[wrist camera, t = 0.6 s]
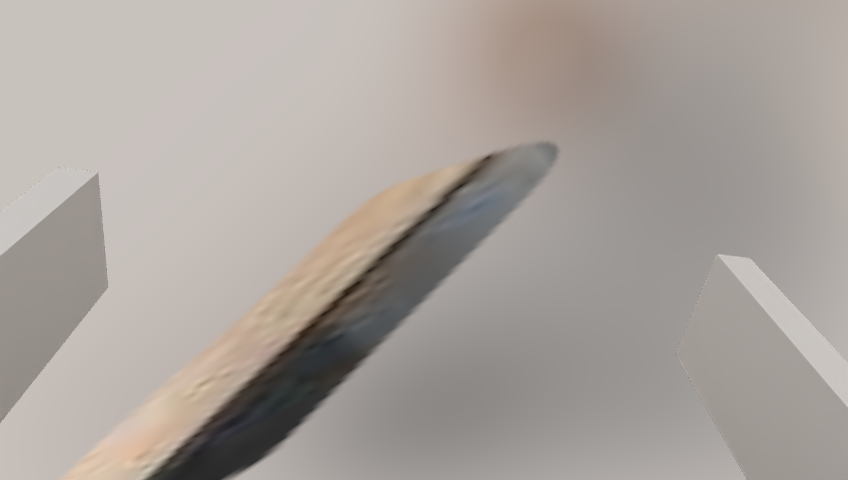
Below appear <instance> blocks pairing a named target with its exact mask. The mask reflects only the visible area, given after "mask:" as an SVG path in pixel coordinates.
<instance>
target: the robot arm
mask: <svg viewBox="0 0 848 480" xmlns="http://www.w3.org/2000/svg"><path fill="white" fill-rule="evenodd" d="M107 288H108V280H107V269H106V257H105V246H104V234H103V223H102V212H101V200H100V188H99V178H98V172H92V171H84V170H77V169H70V168H62V167H58V168H57V169H56V170H54V171H53V172H52V173H50V174H49V175H48V176H46V177H45V178H44V179H42V180H41V181H40V182H38V183H37V184H36V185H34V186H33V187H32V188H30V189H29V190H28V191H26V192H25V193H24V194H22V195H21V196H20V197H18V198H17V199H16V200H14V201H13V202H12V203H10V204H9V205H8V206H6V207H5V208H3V209H2V210H1V211H0V423H1V421H2V420H3V419H4V417H5V416H6V415H7V414H8V412H9V411H10V410H11V409H12V407H13V406H14V405H15V404H16V402H17V401H18V400H19V399H20V397H21V396H22V395H23V394H24V392H25V391H26V390H27V389H28V387H29V386H30V385H31V383H32V382H33V381H34V380H35V379H36V377H37V376H38V375H39V373H40V372H41V371H42V370H43V368H44V367H45V366H46V365H47V363H48V362H49V361H50V360H51V358H52V357H53V356H54V355H55V353H56V352H57V351H58V350H59V348H60V347H61V346H62V344H63V343H64V342H65V341H66V340H67V338H68V337H69V336H70V334H71V333H72V332H73V331H74V329H75V328H76V327H77V326H78V324H79V323H80V322H81V321H82V319H83V318H84V317H85V316H86V314H87V313H88V312H89V311H90V309H91V308H92V307H93V306H94V304H95V303H96V302H97V301H98V299H99V298H100V297H101V296H102V294H103V293H104V292H105V291H106V289H107ZM675 355H676V356H677V358H678V360H679V362H680V363H681V365H682V367H683V369H684V370H685V372H686V374H687V375H688V377H689V379H690V381H691V383H692V384H693V386H694V388H695V389H696V391H697V393H698V395H699V397H700V398H701V400H702V402H703V404H704V405H705V407H706V409H707V411H708V412H709V414H710V416H711V418H712V419H713V421H714V423H715V425H716V426H717V428H718V430H719V431H720V433H721V435H722V437H723V439H724V440H725V442H726V444H727V445H728V447H729V449H730V451H731V452H732V454H733V456H734V458H735V460H736V461H737V463H738V465H739V466H740V468H741V470H742V472H743V473H744V475H745V477H746V479H747V480H848V363H847V362H846V361H845V359H844V358H843V357H842V356H841V355H840V354H839V353H838V352H837V351H836V350H835V349H834V348H833V347H832V346H831V344H830V343H829V342H828V341H827V340H826V339H825V338H824V337H823V336H822V335H821V334H820V333H819V332H818V331H817V329H815V327H813V325H812V324H811V323H810V322H809V321H808V320H807V319H806V318H805V317H804V316H803V315H802V313H801V312H800V311H799V310H798V309H797V308H796V307H795V306H794V305H793V304H792V303H791V302H790V301H789V300H788V298H786V296H785V295H784V294H783V293H782V292H781V291H780V290H779V289H778V288H777V287H776V286H775V285H774V283H773V282H771V280H770V279H769V278H768V277H767V276H766V275H765V274H764V273H763V272H762V271H761V270H760V269H759V268H758V267H757V265H756V264H755V263H754V262H753V261H752V260H751V259H750V258H744V257H735V256H728V255H721V254H717V255H716V257H715V259H714V262H713V264H712V267H711V269H710V271H709V274H708V276H707V279H706V281H705V284H704V286H703V288H702V291H701V293H700V296H699V298H698V301H697V303H696V306H695V308H694V310H693V313H692V315H691V318H690V320H689V323H688V325H687V327H686V330H685V332H684V335H683V337H682V339H681V342H680V344H679V347H678V349H677V352H676V354H675Z"/></svg>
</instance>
